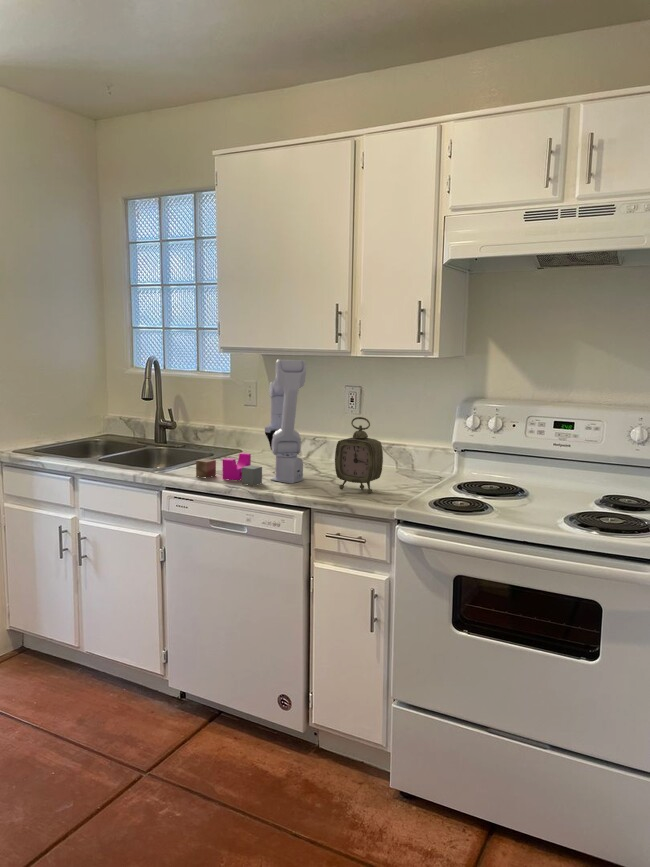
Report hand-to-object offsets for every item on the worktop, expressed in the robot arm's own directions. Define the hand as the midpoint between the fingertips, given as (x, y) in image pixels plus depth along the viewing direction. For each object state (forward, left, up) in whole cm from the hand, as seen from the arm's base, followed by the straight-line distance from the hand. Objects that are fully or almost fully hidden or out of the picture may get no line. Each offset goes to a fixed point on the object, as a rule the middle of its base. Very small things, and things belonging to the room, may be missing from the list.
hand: (277, 449), depth 254 cm
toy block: (+5, +17, -9) cm, 20 cm away
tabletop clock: (-41, +10, -9) cm, 43 cm away
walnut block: (+15, +24, -8) cm, 30 cm away
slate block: (-6, +24, -8) cm, 26 cm away
